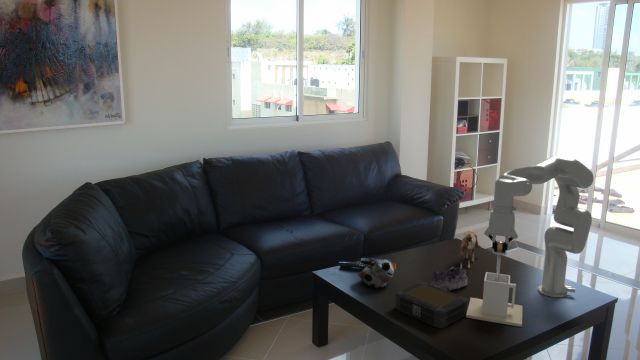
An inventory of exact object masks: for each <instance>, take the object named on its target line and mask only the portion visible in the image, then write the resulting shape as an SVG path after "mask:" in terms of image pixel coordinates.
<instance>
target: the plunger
mask: <svg viewBox="0 0 640 360" xmlns="http://www.w3.org/2000/svg"><path fill="white" fill-rule="evenodd" d="M504 242H505V241H502V240H496V251H494V249H492V254H493V255H496V256H497V257H496V271H495V273H496V281H495V282H499V274H501V273H500V271H501V261H502V260H501V258H502V256H507V253H508V251H507V250H506V251H505V253H504Z"/></svg>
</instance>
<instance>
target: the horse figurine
mask: <svg viewBox="0 0 640 360" xmlns="http://www.w3.org/2000/svg"><path fill="white" fill-rule="evenodd" d="M474 248H476V249H477V250H478V251H480V250H481V249H482V246H481V245H479V242H478V234H477V233H476V232H474V231H470V230H468V231H465V232H464V233H463V237H462V238H461V244H460V249H459V250H460V256H459V257H460V258H459V260H460V265H459V269H460V270H461V269H462V268H463V259H464V255H465V253H466V257H465V259H467V269H470V268H471V264H470V263H471V262H472V263H474V262H475V253H474V252H475V249H474Z"/></svg>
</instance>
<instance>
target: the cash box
mask: <svg viewBox="0 0 640 360" xmlns="http://www.w3.org/2000/svg"><path fill="white" fill-rule="evenodd" d="M468 301H469V300H468V298H466V297H464V296H461V295H459V294H456V293H454V292H451V291H446V290H443V289H441V288H438V287H435V286H433V285H431V283H427V282H425V281H420V282H418V283H416V284H414V285H411V286H409V287H406V288H404V289H401V290H399V291H397V292H396V293H395V305H394V308H395V309H396V310H397V309H398V310H397V311H399V310H400V312H402V313H404V314H406V315H408V316H410V317H413V318H415V319H417V320H420V321H422V322H424V323H426V324H429V325H430V326H433V327H435V328H437V329H444V328H446V327H447V326H450V325H452V323H455V322H456V321H458V320H460V319H462V318H464V317H466V314H467V310H468V305H469V303H468Z"/></svg>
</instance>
